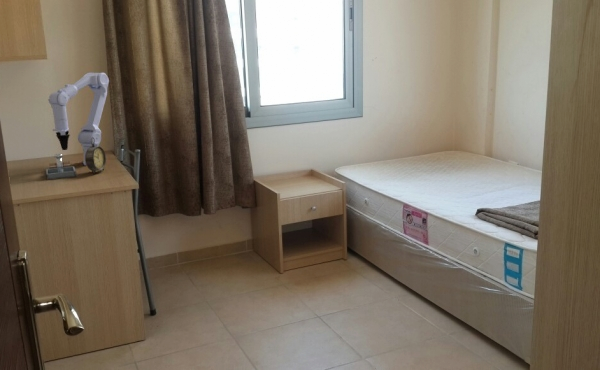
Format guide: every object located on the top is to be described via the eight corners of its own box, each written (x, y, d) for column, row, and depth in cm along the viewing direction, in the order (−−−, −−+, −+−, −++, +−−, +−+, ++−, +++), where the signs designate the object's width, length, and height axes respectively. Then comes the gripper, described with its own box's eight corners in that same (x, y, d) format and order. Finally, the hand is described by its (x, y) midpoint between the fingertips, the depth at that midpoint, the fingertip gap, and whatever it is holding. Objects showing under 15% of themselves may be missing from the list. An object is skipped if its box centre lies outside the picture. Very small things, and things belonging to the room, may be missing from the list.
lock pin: (56, 173, 284) (54, 154, 282) (64, 172, 285) (62, 153, 283) (57, 175, 281) (54, 155, 279) (65, 174, 282) (62, 154, 280)
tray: (46, 174, 285) (46, 169, 285) (74, 171, 290) (74, 166, 289) (47, 179, 276) (46, 174, 275) (76, 176, 280) (75, 171, 279)
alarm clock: (95, 175, 281) (91, 139, 277) (84, 175, 282) (80, 139, 278) (107, 169, 291) (103, 135, 287) (97, 169, 292) (93, 135, 288)
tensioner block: (49, 169, 295) (48, 163, 295) (70, 167, 299) (69, 161, 298) (50, 173, 287) (49, 167, 287) (71, 171, 291) (70, 164, 290)
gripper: (50, 117, 292) (54, 146, 295) (51, 121, 279) (55, 152, 282) (67, 116, 294) (70, 145, 298) (68, 120, 281) (72, 150, 285)
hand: (64, 148), depth 290 cm, fingers open, 7 cm apart
